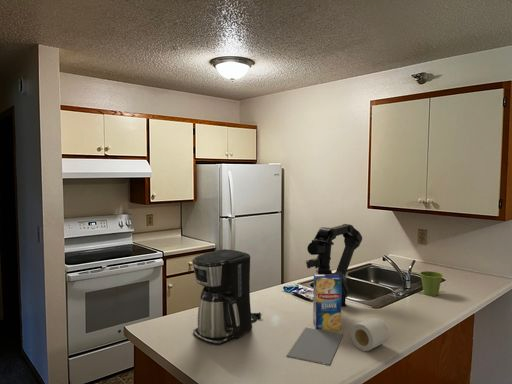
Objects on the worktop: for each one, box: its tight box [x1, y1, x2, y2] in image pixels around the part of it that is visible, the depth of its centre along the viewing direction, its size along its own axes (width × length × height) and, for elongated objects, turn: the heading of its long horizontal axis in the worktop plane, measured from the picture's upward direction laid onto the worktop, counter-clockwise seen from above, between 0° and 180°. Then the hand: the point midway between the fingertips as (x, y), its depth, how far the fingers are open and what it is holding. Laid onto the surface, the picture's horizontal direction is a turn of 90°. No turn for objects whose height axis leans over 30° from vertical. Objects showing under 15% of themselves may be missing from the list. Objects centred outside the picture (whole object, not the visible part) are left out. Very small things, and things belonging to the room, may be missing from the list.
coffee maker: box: [192, 248, 263, 345], centre depth 163 cm, size 23×32×34 cm
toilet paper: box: [350, 317, 390, 352], centre depth 148 cm, size 10×10×10 cm
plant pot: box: [419, 270, 444, 297], centre depth 206 cm, size 12×12×11 cm
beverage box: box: [312, 274, 342, 330], centre depth 166 cm, size 7×11×22 cm, turn 91°
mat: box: [286, 327, 344, 366], centre depth 149 cm, size 26×16×1 cm, turn 157°
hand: (321, 286), depth 181 cm, fingers closed
